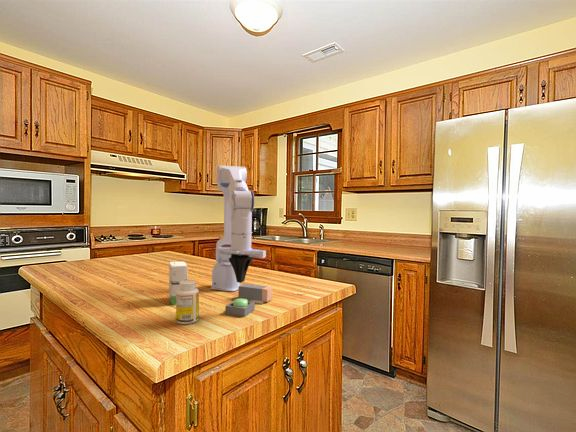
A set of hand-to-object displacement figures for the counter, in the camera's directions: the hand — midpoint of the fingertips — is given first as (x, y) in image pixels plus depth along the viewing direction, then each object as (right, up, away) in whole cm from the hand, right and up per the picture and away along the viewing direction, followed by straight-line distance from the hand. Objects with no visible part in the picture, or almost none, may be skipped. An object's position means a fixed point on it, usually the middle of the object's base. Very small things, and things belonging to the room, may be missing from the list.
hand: (240, 281), depth 87 cm
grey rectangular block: (+3, -8, +12) cm, 15 cm away
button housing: (0, -9, 0) cm, 9 cm away
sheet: (+3, -8, +12) cm, 15 cm away
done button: (0, -8, 0) cm, 8 cm away
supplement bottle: (-13, -9, -7) cm, 17 cm away
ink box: (-21, -8, +10) cm, 25 cm away
